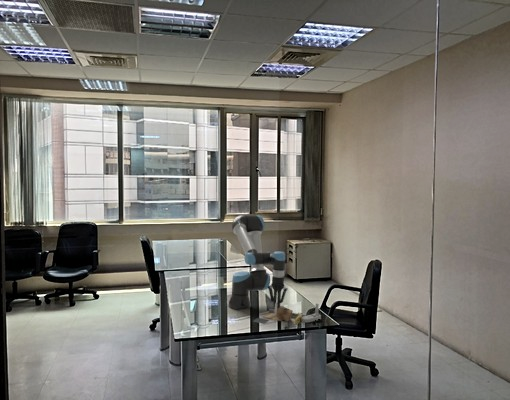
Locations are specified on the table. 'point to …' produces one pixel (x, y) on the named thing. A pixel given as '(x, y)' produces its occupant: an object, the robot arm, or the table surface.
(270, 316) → the deck
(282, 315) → the clip block
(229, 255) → the table surface
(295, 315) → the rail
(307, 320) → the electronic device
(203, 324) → the table surface
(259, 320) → the mat
